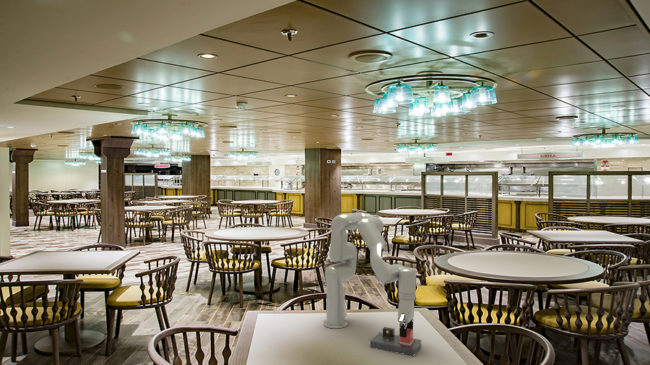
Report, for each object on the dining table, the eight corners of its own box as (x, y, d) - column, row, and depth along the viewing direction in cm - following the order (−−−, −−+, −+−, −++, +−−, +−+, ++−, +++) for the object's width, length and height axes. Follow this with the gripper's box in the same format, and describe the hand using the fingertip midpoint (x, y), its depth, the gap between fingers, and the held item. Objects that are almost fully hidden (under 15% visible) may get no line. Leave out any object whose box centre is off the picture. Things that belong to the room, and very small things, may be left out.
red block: (403, 338, 194) (403, 327, 194) (412, 340, 192) (412, 329, 192) (400, 341, 190) (400, 330, 190) (409, 343, 188) (409, 332, 188)
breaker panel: (379, 338, 203) (379, 325, 203) (421, 346, 194) (421, 333, 194) (370, 347, 193) (370, 334, 193) (413, 356, 183) (413, 342, 183)
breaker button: (402, 344, 194) (402, 338, 194) (413, 346, 192) (413, 340, 192) (399, 348, 190) (399, 342, 190) (410, 350, 188) (410, 344, 188)
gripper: (404, 289, 200) (403, 325, 200) (392, 299, 185) (392, 338, 185) (420, 292, 197) (419, 328, 197) (409, 301, 181) (408, 341, 182)
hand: (406, 333), depth 191 cm, fingers open, 9 cm apart
